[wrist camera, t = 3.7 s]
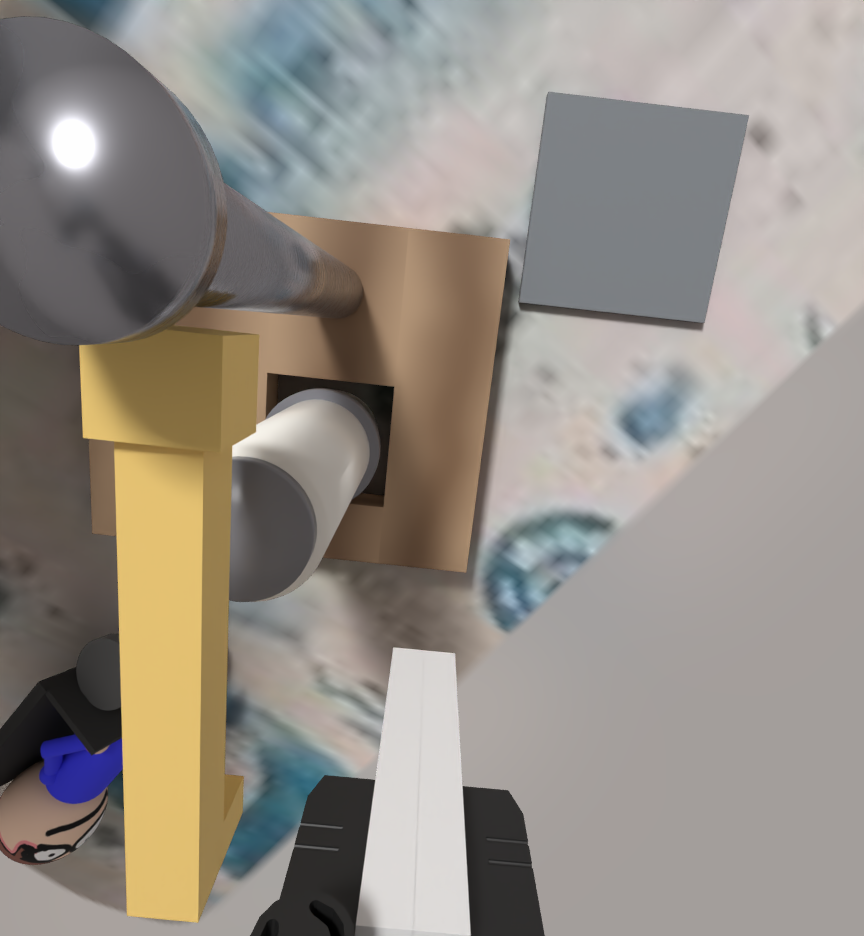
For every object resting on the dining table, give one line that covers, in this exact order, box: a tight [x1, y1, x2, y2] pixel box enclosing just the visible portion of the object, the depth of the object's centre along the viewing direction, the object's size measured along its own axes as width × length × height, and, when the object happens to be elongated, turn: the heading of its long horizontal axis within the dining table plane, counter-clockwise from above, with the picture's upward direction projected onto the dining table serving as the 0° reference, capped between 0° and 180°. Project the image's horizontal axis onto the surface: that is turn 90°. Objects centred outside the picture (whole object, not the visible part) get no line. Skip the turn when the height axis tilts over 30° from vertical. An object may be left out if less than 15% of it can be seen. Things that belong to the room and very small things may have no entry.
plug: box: [229, 388, 381, 602], centre depth 22 cm, size 5×5×15 cm
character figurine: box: [0, 634, 123, 865], centre depth 30 cm, size 8×7×15 cm
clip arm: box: [79, 325, 259, 923], centre depth 13 cm, size 2×13×3 cm, turn 174°
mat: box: [518, 92, 749, 323], centre depth 27 cm, size 9×9×1 cm
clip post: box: [0, 16, 363, 345], centre depth 16 cm, size 4×4×20 cm
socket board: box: [89, 212, 510, 573], centre depth 28 cm, size 19×16×2 cm
